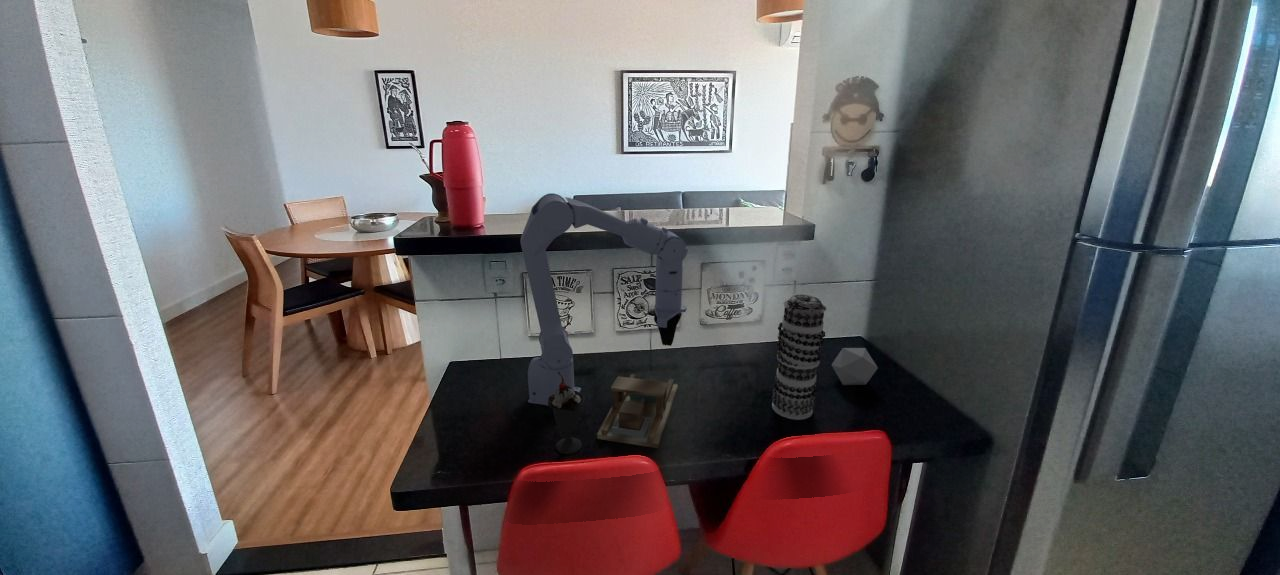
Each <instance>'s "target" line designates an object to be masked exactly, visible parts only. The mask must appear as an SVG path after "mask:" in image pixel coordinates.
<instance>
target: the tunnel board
mask: <svg viewBox="0 0 1280 575" xmlns="http://www.w3.org/2000/svg"><path fill="white" fill-rule="evenodd" d="M635 378H636V374H633V373H631V374H630V375H629V377H625V376H618V375H617V377H616V378H615V380H614V382H613V384H612V385H611V387H610V391H611V407H610V409H609V410H608V413H607V415H606V417H605V418H604V420H603V422H602V424H601V426H600V427H599V430H598V432H597V433H596V439H597V440H603V441H610V442H615V443H621V444H629V445H636V446H642V447H648V448H654V449H659V447H660V443H661V440H662V436H663V435H664V434H663V433H664V431H665V428H666V425H667V423H668V418H669V416H670V413H671V410H672V407H673V403H674V402H675V398H676V394H677V392H678V387H679V384H677V383H674V379H673V378H669V379H668V381H667V382H666V381H658V380H652V381H651V380H650V379H644V380H643V379H642V378H636V379H635ZM630 393H634V394H641V395H649V396H656V402H649V401H645V403H644V417H650V420H651V422H650V425H649V428H648V430H647V433H646V435H645V438H641V437H634V436H628V435H621V434H615V433H612V427H614V426H615V424H616V422H617V420H618V418H619V410H620V408H621V406H622V404H623V402H624V401H631V402H638V403H640V401H641V400H634V399H630Z"/></svg>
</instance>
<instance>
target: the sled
mask: <svg viewBox="0 0 1280 575" xmlns="http://www.w3.org/2000/svg"><path fill="white" fill-rule="evenodd" d="M635 379H637V378H636V377H635ZM643 380H645V379H643ZM651 381H653V380H651ZM630 399H634V400H641V401H640V403H645V401H649V402H656V396H649V395H641V394H634V393H630ZM650 422H651V420H650V417H644V422H643V424H642V427H641V429H640V431H638V430H632V429H625V428H619V418H618V420H617V422H616V424H615V426H614V427H612V433H615V434H621V435H628V436H634V437H641V438H645V435H646V433H647V430H648V428H649V425H650Z"/></svg>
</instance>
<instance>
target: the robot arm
mask: <svg viewBox="0 0 1280 575" xmlns="http://www.w3.org/2000/svg"><path fill="white" fill-rule="evenodd" d="M565 199H566V200H565ZM587 225H589V226H591V227H594V228H597V229H600V230H603V231H605V232H608V233H611V234H614V235H616V236H621V238H622V240H623V242H624V244H625V245H627V246H628V247H631V248H634V249H636V250H639V251H642V252H644V253H646V254H649V255H652V256H654V255H656V257H655V259H656V262H655V264H656V266H655V291H654V292H655V300H654V301H655V302H654V304H655V305H654V312H655V315H654V316H653V320H654V323H655V324H656V328H658V331H659V335H660V340H661V344H662V346H669V347H671V346H672V345H673V342H674V339H675V335H676V330H677V326H678V324H679V322H680V320H681V318H682V316H683V313H686V312H687V309H688V308H687V306H685V305H682V297H683V296H682V295H683V294H682V293H683V291H682V290H683V289H682V288H683V261H684V260H685V258H686V257H687V254H688V248H687V245H686V242H685V241H684V239H683V238H681V237H680V236H679V235H677V234H675V233H674V232H672V231H671V230H670V229H668V228H665V227H658V226H655V225H652V224H650V223H649V220H647V219H646V218H643V217H641V218H640V219H638V218H632V219H631V220H628V221H626V220H624V219H622V218H620V217H617V216H615V215H613V214H610V213H608V212H606V211H604V210H601V209H600V208H597V207H595V206H593V205H590V204H588V203H586V202H583V201H580V200H578V199H574V198H571V197H567V196H566V197H563V196H561V195H559V194H557V193H547V194H546V193H545V194H544V195H543V196H541V197H540V198H539V200H537V201H536V203H535V204H534V205H533V206H532V207H531V209H530V213H529V216H528V219H527V221H526V223H525V225H524V229H523V231H522V234H521V236H520V248H521V251H522V255H523V260H524V264H525V268H526V272H527V278H528V281H529V286H530V290H531V294H532V298H533V303H534V306H535V313H536V314H537V320H538V325H539V329H540V331H539V332H540V333H539V335H538V342H539V345H540V351H541V355H540V357H538V356H537V357H533V358H532V359H531V361H530V362H529V365H528V370H527V383H528V384H527V385H528V395H529V396H528V397H529V399H528V400H527V403H529V404H534V405H541V406H548V398H549V397H550V396H551V395H553V394H555V393H556V391H557V390H558V389H559V385H560V383H562V377H563V379H564V383H566V386H569V387H571V388H572V389H573V390H574V391H577V392H579V393H581V391H582V388H581V387H578V386H575V376H574V375H575V371H574V357H573V356H574V355H573V354H574V353H573V352H574V351H573V349H572V347H571V344H570V341H569V337H568V336H569V335H568V332H567V330H566V328H564V326H563V324H562V321H561V316H560V311H559V307H558V306H559V305H558V301H557V297H556V292H555V287H554V283H553V279H552V274H551V273H552V272H551V269H550V264H549V260H548V256H547V251H546V250H547V248H549V245H550V244H551V243H552V242H553V241H554V240H555V239H556V238H557V237H559V236H561V235H563V234H564V233H566V232H567V231H568V230H569V229H570V228H571V226H572V227H573V228H574V229H578V228H581V227H583V226H587ZM558 372H560V375H561V376H562V377H561V376H560V375H559V374H558Z"/></svg>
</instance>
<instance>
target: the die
mask: <svg viewBox="0 0 1280 575" xmlns="http://www.w3.org/2000/svg"><path fill="white" fill-rule="evenodd" d="M831 367H832V368H833V371H834V372H835V374H836V375H837V377H838V379H839V380H840V382H841V385H843V386H866V385H867V383H868V382H869V381H870V380H871V378H872V376H873V375H874V374H875V373H876V371H877V370H878V369H879V367H878V366H877V364H876V362H875V361H874V359H873V358H872V357H871V354H870V353H869V351H868V350H867V348H866V347H842V348H841V350H840V351H839V352H838V354H837V356H836V357H835V359H834V361H833V362H832V363H831Z"/></svg>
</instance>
